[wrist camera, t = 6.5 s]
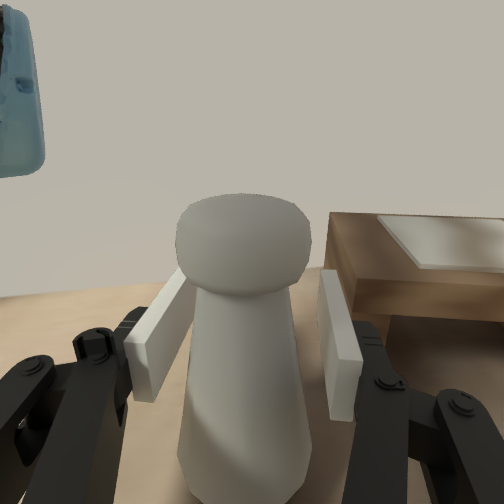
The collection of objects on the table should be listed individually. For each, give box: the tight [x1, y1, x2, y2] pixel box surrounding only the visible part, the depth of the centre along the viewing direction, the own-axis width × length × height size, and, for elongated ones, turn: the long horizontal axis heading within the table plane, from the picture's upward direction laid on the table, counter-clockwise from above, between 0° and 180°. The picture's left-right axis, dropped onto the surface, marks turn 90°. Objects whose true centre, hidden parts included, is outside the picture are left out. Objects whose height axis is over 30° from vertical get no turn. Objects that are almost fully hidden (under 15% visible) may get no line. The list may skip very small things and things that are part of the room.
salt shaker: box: [175, 193, 313, 504], centre depth 12 cm, size 6×6×13 cm
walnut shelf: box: [324, 212, 504, 347], centre depth 22 cm, size 16×12×8 cm
